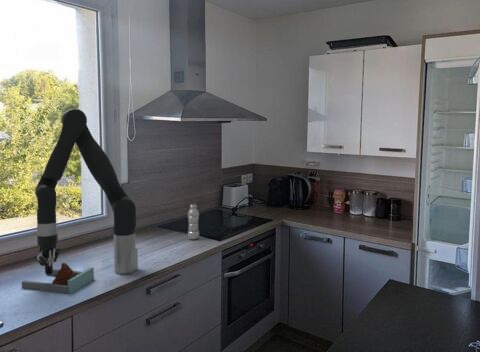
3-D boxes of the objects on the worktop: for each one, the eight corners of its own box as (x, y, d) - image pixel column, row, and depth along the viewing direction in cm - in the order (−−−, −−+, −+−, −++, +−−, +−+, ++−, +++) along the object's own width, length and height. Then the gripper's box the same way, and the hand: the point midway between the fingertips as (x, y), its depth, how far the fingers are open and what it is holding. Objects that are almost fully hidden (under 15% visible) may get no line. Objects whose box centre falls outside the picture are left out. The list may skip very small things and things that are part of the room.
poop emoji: (49, 289, 163) (48, 266, 162) (56, 281, 172) (55, 259, 170) (75, 288, 164) (74, 266, 163) (81, 280, 173) (80, 259, 171)
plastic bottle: (188, 241, 230) (188, 206, 228) (187, 237, 237) (186, 203, 234) (200, 240, 232) (200, 205, 229) (198, 237, 238) (197, 203, 236)
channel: (94, 278, 174) (94, 267, 174) (70, 293, 159) (70, 281, 158) (49, 273, 180) (48, 262, 179) (21, 287, 164) (21, 275, 164)
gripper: (44, 238, 160) (46, 280, 162) (65, 229, 173) (67, 269, 175) (27, 236, 162) (29, 279, 164) (50, 228, 174) (51, 267, 177)
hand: (49, 274), depth 169 cm, fingers closed
